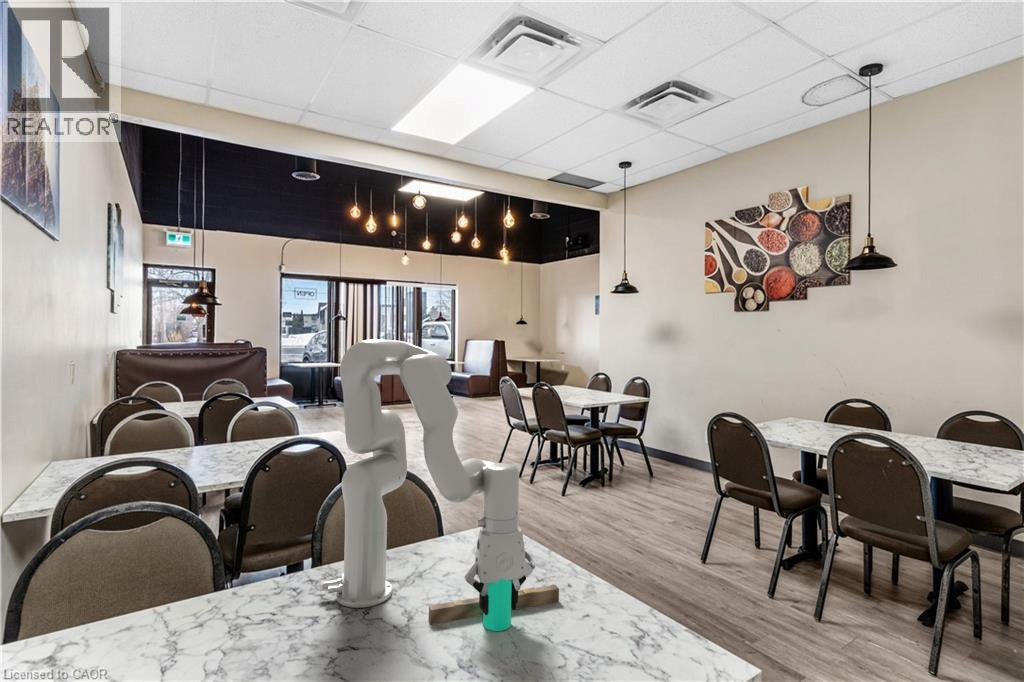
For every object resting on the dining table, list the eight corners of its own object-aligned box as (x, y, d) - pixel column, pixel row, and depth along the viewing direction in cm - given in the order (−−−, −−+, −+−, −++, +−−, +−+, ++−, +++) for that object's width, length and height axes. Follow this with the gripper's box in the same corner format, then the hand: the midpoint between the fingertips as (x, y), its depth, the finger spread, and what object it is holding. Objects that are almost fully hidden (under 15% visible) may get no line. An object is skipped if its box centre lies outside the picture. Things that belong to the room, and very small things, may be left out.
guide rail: (430, 624, 105) (430, 609, 105) (428, 619, 107) (429, 604, 107) (558, 601, 115) (559, 587, 116) (555, 597, 117) (555, 583, 117)
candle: (507, 633, 102) (508, 574, 102) (479, 628, 103) (480, 570, 103) (513, 617, 108) (515, 561, 108) (487, 613, 109) (488, 558, 109)
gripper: (465, 533, 99) (463, 625, 99) (544, 525, 105) (542, 611, 105) (456, 521, 106) (454, 607, 106) (530, 513, 112) (529, 595, 112)
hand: (498, 608), depth 105 cm, fingers closed on candle, 5 cm apart
